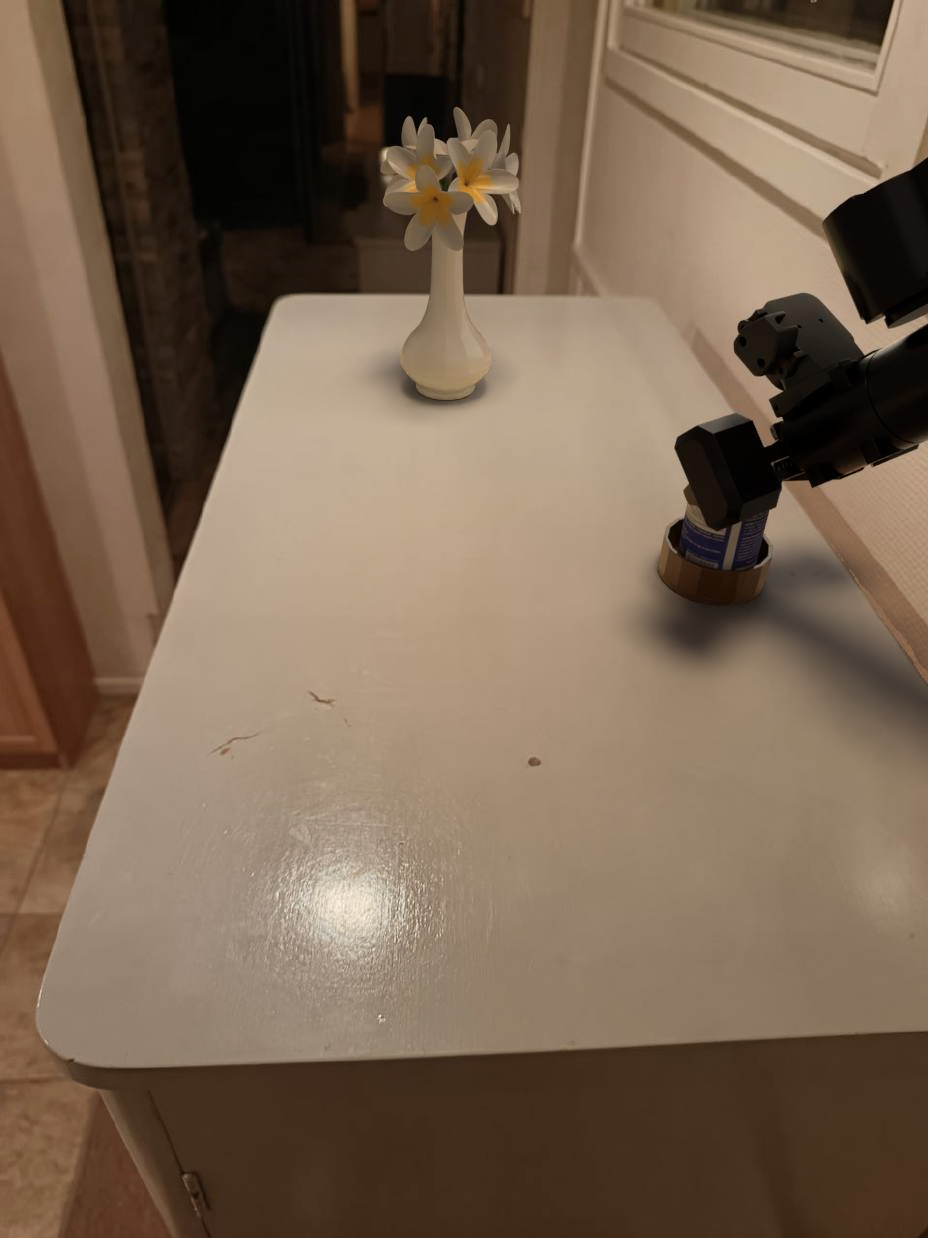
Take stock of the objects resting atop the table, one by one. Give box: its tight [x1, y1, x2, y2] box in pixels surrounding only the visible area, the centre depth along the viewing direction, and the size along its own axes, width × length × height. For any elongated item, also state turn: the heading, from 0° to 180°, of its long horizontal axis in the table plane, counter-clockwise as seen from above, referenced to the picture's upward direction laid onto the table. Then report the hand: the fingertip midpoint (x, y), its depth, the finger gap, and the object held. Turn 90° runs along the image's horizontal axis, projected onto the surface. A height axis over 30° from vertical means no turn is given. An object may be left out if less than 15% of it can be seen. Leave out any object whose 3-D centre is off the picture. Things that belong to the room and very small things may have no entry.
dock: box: [657, 515, 774, 606], centre depth 66 cm, size 8×8×3 cm
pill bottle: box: [678, 442, 774, 570], centre depth 63 cm, size 6×6×10 cm
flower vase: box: [380, 106, 522, 401], centre depth 84 cm, size 13×18×25 cm
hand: (717, 485), depth 63 cm, fingers closed on pill bottle, 6 cm apart
